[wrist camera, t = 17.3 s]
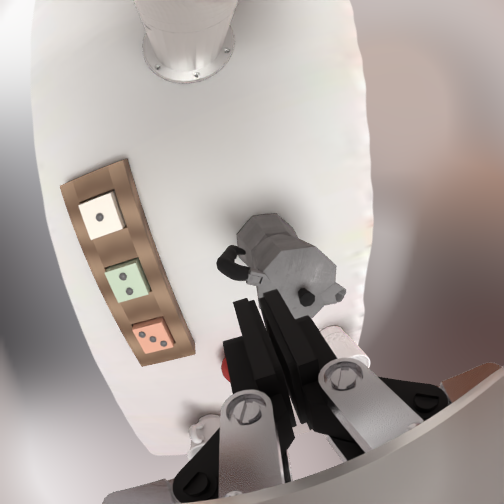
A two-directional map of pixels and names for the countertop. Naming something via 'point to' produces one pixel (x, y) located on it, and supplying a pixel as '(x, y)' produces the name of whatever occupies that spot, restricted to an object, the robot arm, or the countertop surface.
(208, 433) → the teacup
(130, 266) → the button two
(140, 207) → the button panel
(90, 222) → the button one
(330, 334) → the white cup
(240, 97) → the countertop surface
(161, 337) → the button three
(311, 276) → the coffeepot
